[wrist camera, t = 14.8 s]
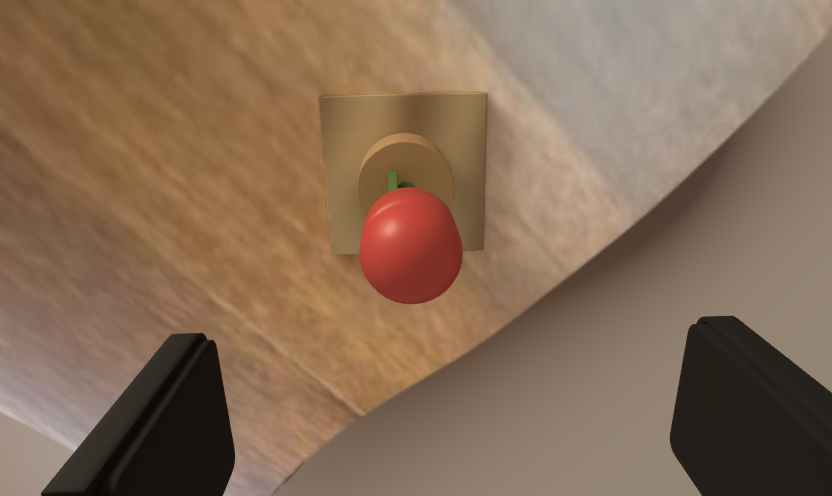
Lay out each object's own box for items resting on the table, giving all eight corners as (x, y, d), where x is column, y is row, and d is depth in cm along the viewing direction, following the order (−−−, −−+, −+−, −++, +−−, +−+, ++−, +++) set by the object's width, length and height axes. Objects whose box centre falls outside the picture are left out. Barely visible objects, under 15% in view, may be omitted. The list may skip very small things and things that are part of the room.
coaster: (485, 91, 29) (487, 92, 28) (482, 246, 32) (483, 250, 31) (320, 96, 29) (318, 96, 28) (332, 252, 32) (331, 255, 31)
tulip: (448, 131, 29) (493, 192, 16) (448, 219, 31) (489, 338, 18) (357, 134, 29) (327, 197, 16) (362, 221, 31) (339, 344, 18)
